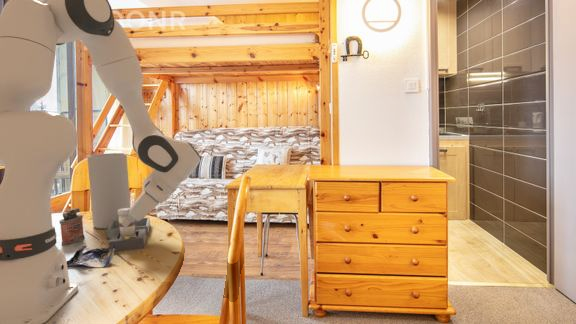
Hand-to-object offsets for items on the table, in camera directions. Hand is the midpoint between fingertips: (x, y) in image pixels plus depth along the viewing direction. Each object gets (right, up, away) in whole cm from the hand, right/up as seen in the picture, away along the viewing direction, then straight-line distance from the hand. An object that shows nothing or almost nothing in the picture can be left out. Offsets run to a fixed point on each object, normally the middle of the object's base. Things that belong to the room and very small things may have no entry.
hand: (124, 223), depth 114 cm
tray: (-4, -5, +14) cm, 16 cm away
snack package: (-4, -9, -13) cm, 16 cm away
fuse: (+1, -5, +1) cm, 5 cm away
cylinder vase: (-15, -5, +25) cm, 29 cm away
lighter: (-18, -7, +6) cm, 20 cm away
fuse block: (+1, -7, +1) cm, 7 cm away
